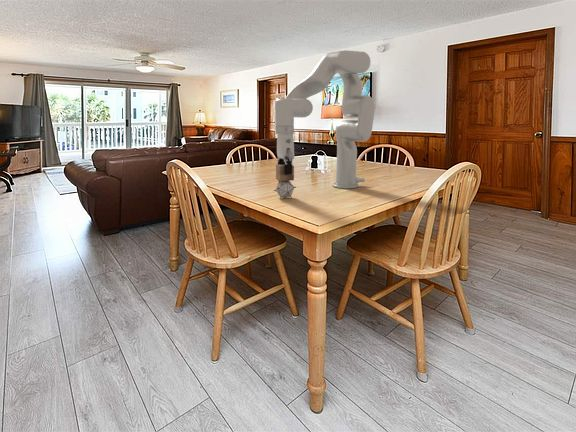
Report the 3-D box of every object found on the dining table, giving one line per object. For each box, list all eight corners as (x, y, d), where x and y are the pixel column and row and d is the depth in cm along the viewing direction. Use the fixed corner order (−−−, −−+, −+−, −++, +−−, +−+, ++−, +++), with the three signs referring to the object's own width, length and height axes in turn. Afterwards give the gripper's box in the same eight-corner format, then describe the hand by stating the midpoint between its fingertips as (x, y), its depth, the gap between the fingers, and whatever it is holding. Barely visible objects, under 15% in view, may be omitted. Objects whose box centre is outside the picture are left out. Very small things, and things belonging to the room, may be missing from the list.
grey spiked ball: (288, 207, 153) (292, 191, 145) (269, 199, 154) (273, 183, 146) (295, 193, 159) (300, 177, 151) (277, 186, 159) (281, 170, 152)
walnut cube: (289, 178, 155) (289, 164, 153) (293, 180, 149) (293, 165, 148) (276, 178, 153) (275, 164, 151) (280, 181, 148) (279, 166, 146)
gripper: (300, 131, 139) (300, 175, 143) (287, 129, 155) (287, 169, 159) (281, 131, 137) (282, 176, 141) (270, 129, 153) (270, 170, 157)
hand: (284, 172), depth 150 cm, fingers open, 9 cm apart
